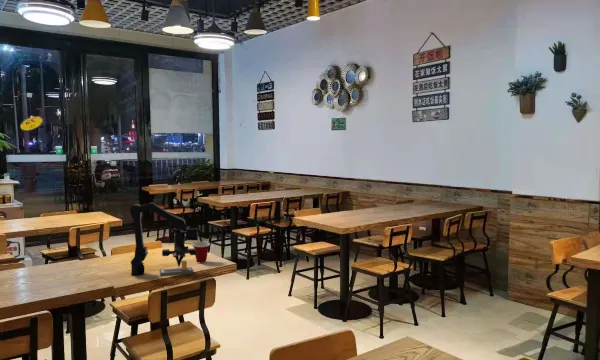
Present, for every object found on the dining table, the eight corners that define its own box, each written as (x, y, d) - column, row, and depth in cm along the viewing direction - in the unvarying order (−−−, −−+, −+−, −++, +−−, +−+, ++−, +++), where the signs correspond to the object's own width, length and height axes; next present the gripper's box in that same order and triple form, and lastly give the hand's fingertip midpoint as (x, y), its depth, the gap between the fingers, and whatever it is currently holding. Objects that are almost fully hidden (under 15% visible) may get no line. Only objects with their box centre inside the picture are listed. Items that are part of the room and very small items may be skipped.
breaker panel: (160, 275, 248) (160, 273, 248) (159, 272, 255) (159, 269, 255) (193, 273, 254) (193, 270, 254) (191, 269, 262) (191, 266, 262)
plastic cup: (194, 265, 272) (193, 245, 272) (191, 261, 282) (191, 242, 282) (211, 263, 276) (211, 244, 276) (208, 259, 286) (208, 241, 286)
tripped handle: (182, 270, 254) (182, 262, 254) (181, 268, 258) (181, 260, 257) (186, 269, 255) (186, 261, 254) (185, 267, 258) (185, 260, 258)
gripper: (163, 243, 243) (162, 271, 244) (197, 242, 250) (197, 269, 251) (162, 239, 254) (161, 266, 255) (195, 238, 260) (194, 265, 261)
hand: (178, 267), depth 255 cm, fingers closed
